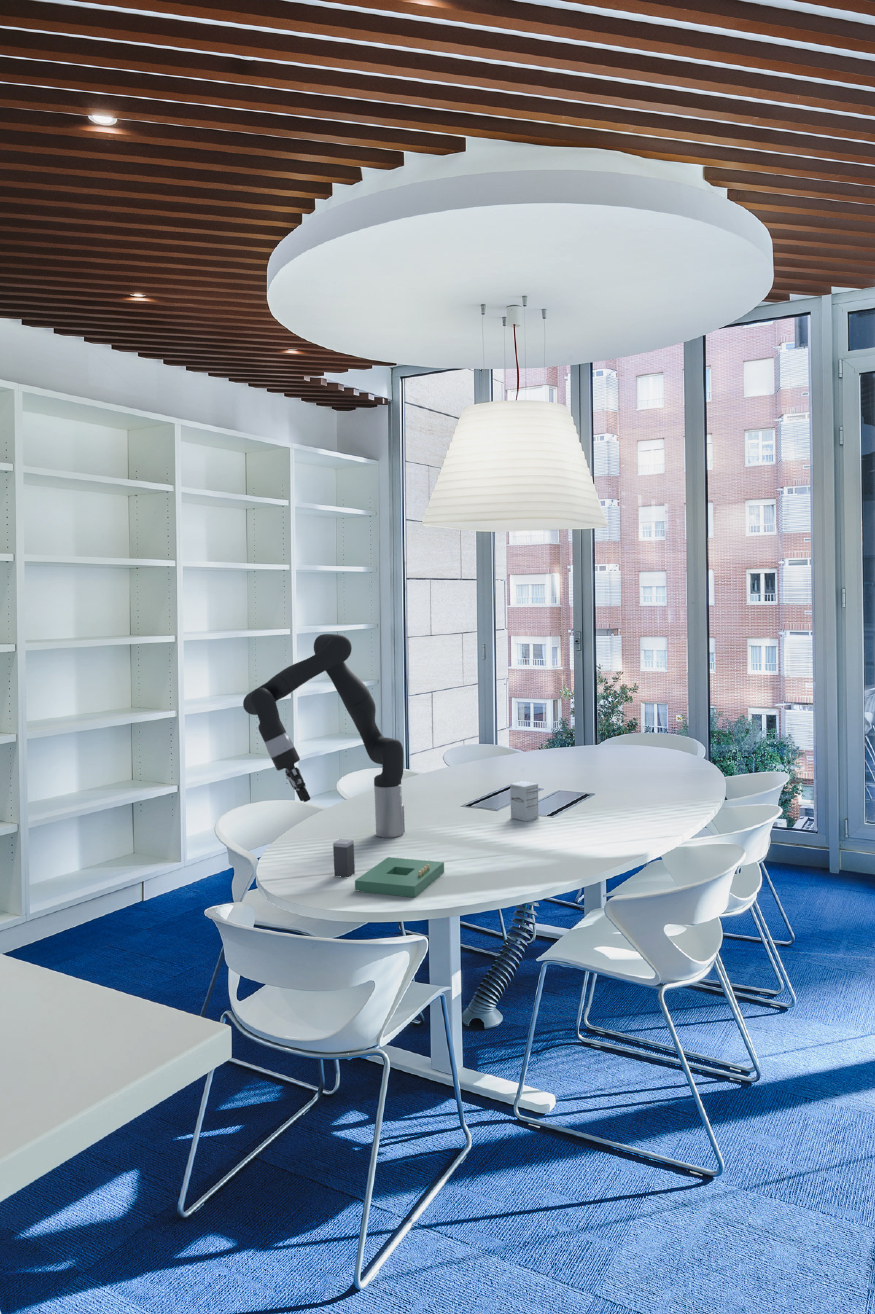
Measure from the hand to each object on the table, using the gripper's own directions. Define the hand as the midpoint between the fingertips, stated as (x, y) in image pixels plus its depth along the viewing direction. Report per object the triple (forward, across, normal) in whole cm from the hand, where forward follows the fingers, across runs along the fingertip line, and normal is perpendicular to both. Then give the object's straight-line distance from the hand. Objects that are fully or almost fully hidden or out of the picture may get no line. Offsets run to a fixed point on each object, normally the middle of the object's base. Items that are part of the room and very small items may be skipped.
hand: (305, 800), depth 261 cm
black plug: (+24, -4, 0) cm, 25 cm away
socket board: (+32, -16, -13) cm, 37 cm away
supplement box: (+45, +35, -70) cm, 90 cm away
